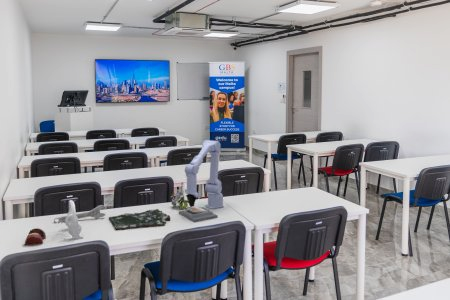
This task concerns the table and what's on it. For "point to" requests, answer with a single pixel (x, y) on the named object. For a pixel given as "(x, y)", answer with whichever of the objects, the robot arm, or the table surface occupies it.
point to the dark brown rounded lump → (35, 237)
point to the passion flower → (178, 198)
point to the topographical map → (139, 220)
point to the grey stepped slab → (198, 215)
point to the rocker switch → (197, 209)
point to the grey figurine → (73, 222)
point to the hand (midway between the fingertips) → (191, 206)
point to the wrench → (86, 214)
